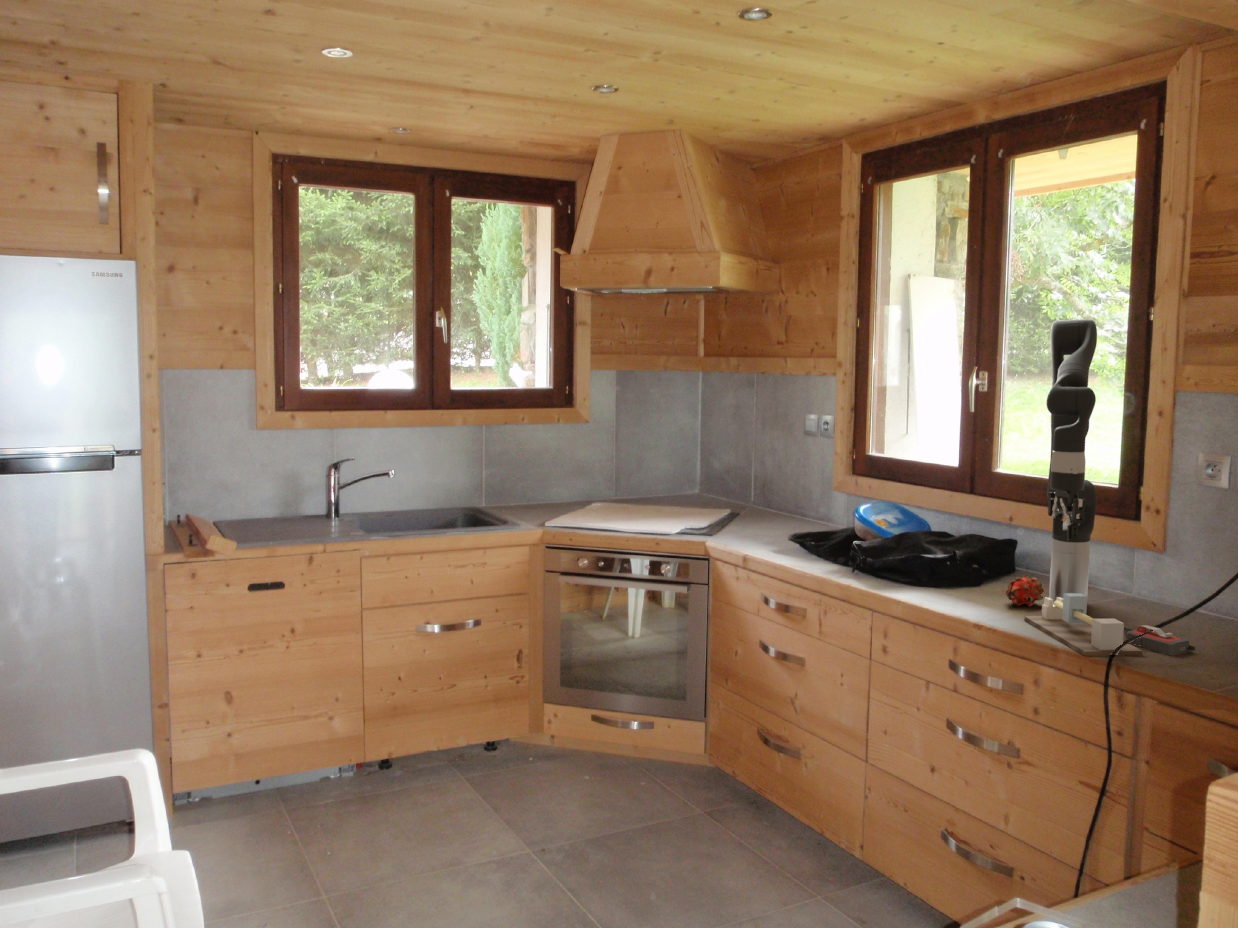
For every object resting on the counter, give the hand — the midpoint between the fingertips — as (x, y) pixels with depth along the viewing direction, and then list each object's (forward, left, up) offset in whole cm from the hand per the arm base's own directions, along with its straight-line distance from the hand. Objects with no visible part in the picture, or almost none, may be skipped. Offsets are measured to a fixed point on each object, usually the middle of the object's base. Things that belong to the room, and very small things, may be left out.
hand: (1064, 537), depth 240 cm
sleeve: (+6, 0, -19) cm, 20 cm away
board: (+9, 0, -22) cm, 24 cm away
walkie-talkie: (+15, +13, -22) cm, 30 cm away
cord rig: (+9, 0, -22) cm, 24 cm away
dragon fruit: (-21, 0, -22) cm, 30 cm away
